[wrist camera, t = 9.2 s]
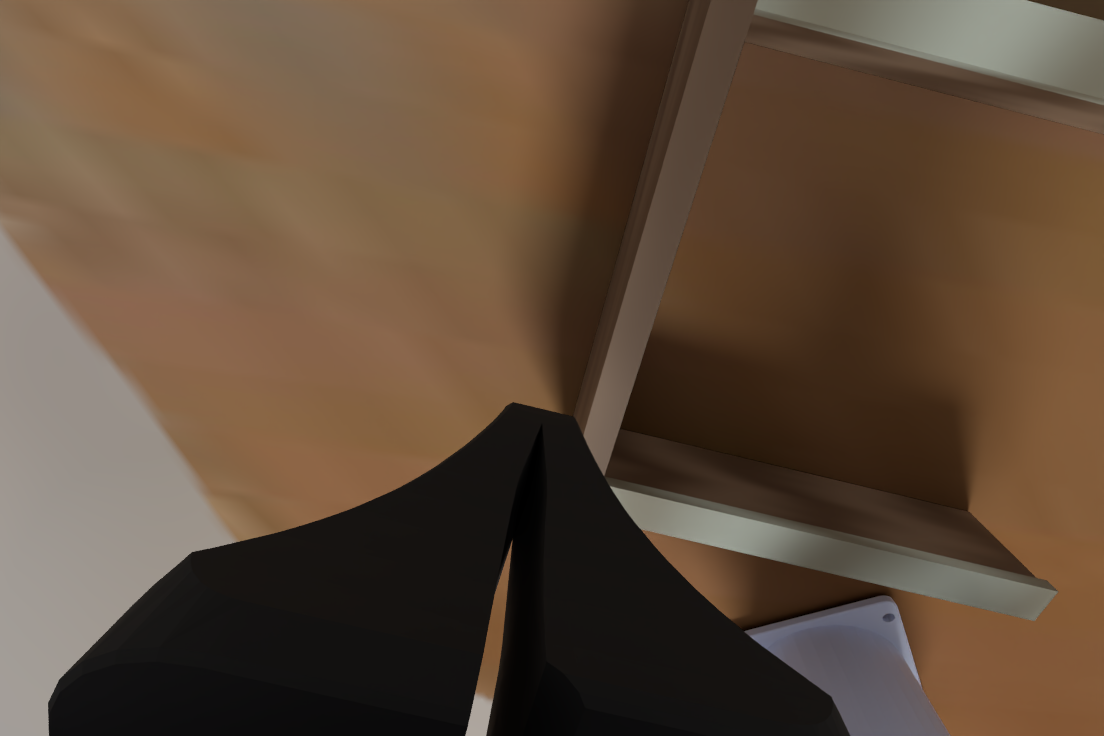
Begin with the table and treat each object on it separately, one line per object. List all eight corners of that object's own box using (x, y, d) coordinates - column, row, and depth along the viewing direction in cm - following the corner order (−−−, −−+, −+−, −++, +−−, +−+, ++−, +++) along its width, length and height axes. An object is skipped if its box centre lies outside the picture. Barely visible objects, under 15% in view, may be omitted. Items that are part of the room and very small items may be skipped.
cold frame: (565, 441, 22) (558, 519, 18) (694, -21, 16) (736, -87, 11) (954, 534, 23) (1045, 633, 18) (1233, 119, 16) (1485, 110, 12)
